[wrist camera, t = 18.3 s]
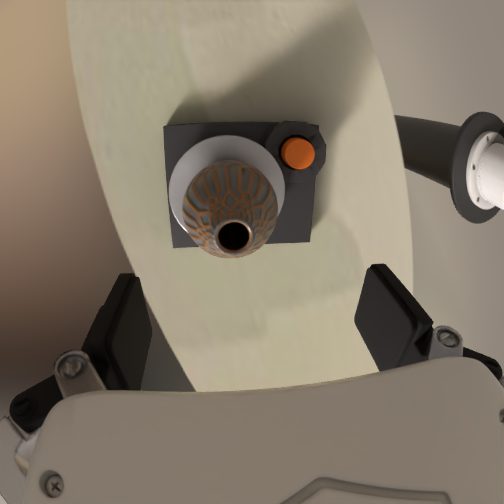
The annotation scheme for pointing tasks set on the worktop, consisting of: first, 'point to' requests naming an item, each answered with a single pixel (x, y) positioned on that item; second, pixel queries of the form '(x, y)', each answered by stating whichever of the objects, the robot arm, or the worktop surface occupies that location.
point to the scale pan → (219, 151)
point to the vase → (230, 209)
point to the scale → (272, 139)
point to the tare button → (297, 153)
